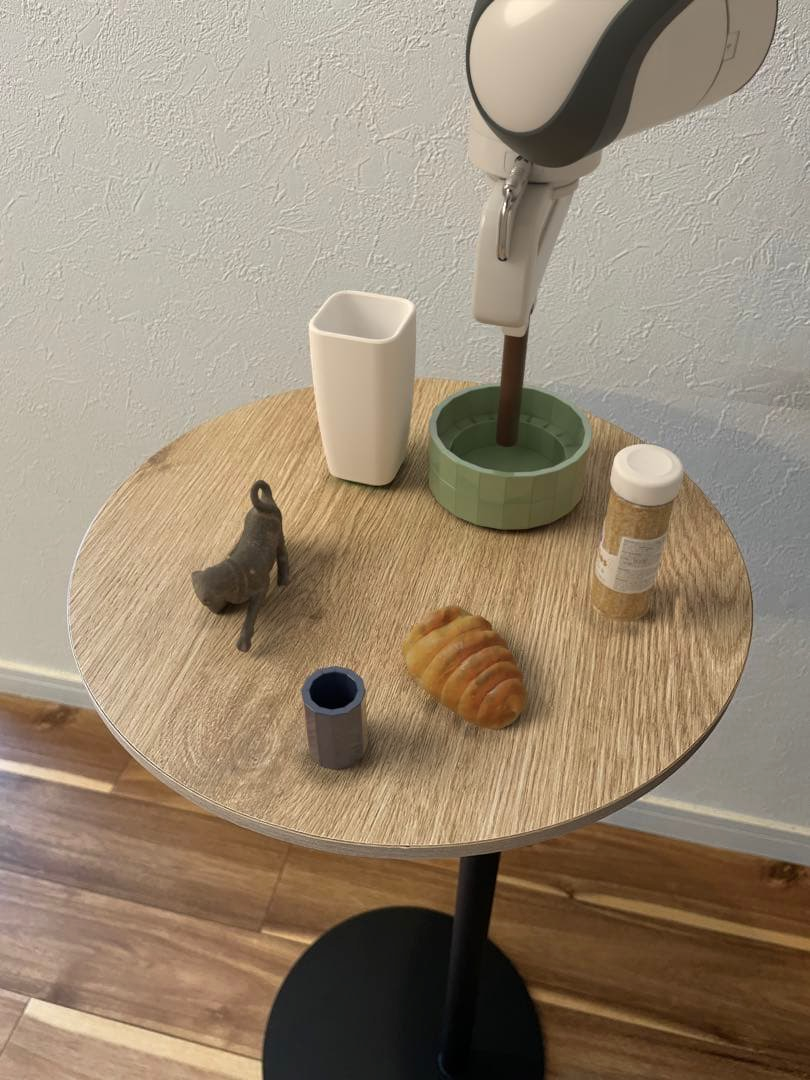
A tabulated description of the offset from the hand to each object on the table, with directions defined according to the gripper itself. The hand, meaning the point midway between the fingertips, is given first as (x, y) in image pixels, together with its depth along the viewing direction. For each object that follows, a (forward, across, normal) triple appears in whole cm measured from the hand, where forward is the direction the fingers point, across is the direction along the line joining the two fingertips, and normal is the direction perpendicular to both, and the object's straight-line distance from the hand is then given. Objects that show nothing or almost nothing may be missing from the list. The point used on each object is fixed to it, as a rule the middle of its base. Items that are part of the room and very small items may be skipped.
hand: (518, 321), depth 73 cm
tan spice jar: (+16, -12, -11) cm, 23 cm away
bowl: (+16, 0, 0) cm, 16 cm away
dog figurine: (+16, -19, +16) cm, 29 cm away
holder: (+16, -30, +5) cm, 34 cm away
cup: (+16, -1, +12) cm, 20 cm away
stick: (+11, 0, 0) cm, 11 cm away
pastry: (+16, -22, -2) cm, 27 cm away
